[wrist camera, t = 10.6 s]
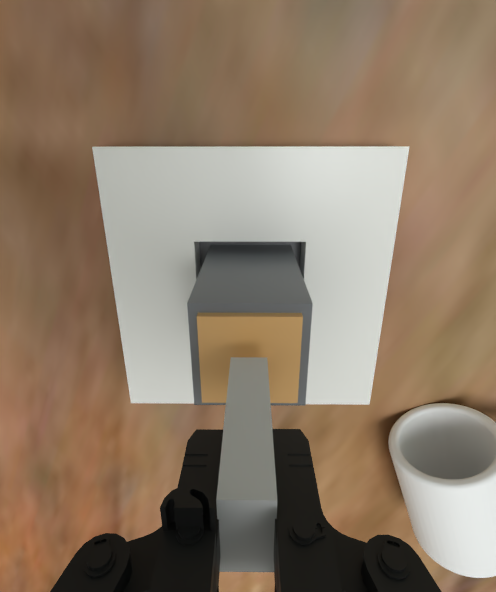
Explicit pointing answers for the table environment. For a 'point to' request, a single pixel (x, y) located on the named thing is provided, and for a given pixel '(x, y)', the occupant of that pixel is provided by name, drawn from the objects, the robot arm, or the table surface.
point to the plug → (250, 320)
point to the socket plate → (250, 231)
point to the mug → (449, 484)
